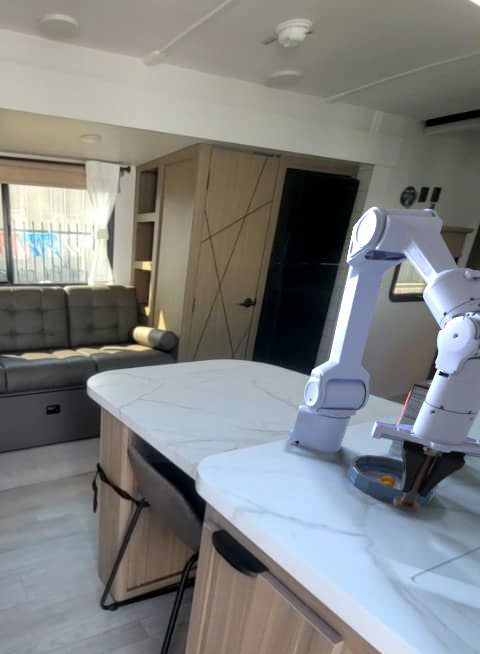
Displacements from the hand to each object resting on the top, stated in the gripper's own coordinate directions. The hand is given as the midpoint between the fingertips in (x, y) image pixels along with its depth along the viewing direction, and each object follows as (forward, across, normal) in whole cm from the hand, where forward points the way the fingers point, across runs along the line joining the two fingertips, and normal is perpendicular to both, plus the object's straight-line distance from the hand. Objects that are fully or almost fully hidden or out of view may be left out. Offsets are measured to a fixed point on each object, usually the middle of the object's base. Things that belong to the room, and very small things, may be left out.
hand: (412, 491), depth 60 cm
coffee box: (+6, +5, +27) cm, 28 cm away
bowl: (+6, -1, +10) cm, 12 cm away
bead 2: (+5, -1, +9) cm, 10 cm away
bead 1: (+5, -1, +11) cm, 12 cm away
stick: (+3, 0, 0) cm, 3 cm away
